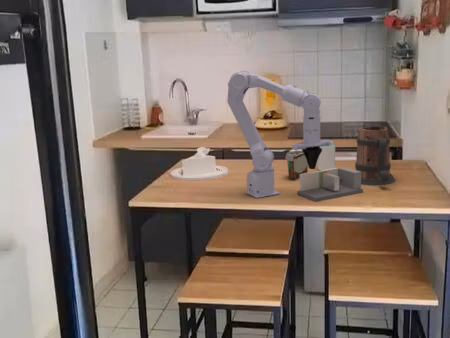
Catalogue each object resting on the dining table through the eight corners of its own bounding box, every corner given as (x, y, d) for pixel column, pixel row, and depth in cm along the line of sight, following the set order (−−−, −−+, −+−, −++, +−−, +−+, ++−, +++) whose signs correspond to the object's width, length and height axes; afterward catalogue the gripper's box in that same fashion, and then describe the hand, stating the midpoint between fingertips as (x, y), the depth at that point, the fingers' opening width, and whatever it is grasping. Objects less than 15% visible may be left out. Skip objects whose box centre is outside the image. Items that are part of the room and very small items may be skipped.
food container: (296, 173, 210) (295, 149, 208) (309, 174, 207) (309, 150, 204) (279, 179, 201) (279, 154, 199) (293, 181, 197) (292, 156, 195)
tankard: (345, 175, 202) (345, 125, 198) (387, 173, 202) (388, 123, 198) (361, 191, 179) (361, 135, 175) (408, 189, 179) (410, 132, 175)
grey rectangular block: (334, 191, 175) (334, 176, 174) (321, 186, 182) (321, 172, 180) (347, 188, 177) (347, 173, 176) (334, 184, 184) (334, 169, 183)
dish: (201, 165, 236) (200, 141, 233) (240, 172, 218) (239, 146, 215) (158, 175, 219) (156, 149, 216) (197, 184, 201) (195, 156, 199)
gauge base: (315, 201, 170) (315, 180, 168) (297, 194, 180) (296, 174, 178) (362, 192, 178) (363, 172, 176) (342, 185, 188) (343, 166, 186)
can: (316, 171, 211) (316, 143, 208) (319, 168, 217) (319, 140, 214) (333, 172, 208) (333, 143, 205) (336, 168, 215) (336, 140, 212)
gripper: (300, 133, 167) (300, 173, 170) (336, 128, 173) (336, 167, 176) (288, 130, 173) (289, 169, 176) (324, 126, 179) (324, 164, 182)
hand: (311, 168), depth 176 cm, fingers closed
